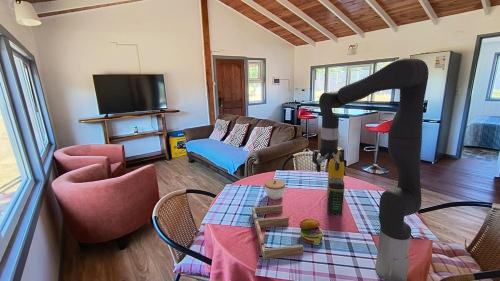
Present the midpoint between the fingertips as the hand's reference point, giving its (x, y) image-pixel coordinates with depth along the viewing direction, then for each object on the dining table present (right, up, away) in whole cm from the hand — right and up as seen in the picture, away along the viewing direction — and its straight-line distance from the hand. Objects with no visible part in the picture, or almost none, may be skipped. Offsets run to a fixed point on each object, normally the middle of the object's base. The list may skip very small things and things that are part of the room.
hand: (327, 171), depth 110 cm
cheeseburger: (-8, -30, -2) cm, 32 cm away
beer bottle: (+18, -18, +41) cm, 49 cm away
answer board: (-24, -29, +2) cm, 38 cm away
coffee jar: (+10, -24, +19) cm, 32 cm away
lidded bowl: (-21, -21, +37) cm, 47 cm away
